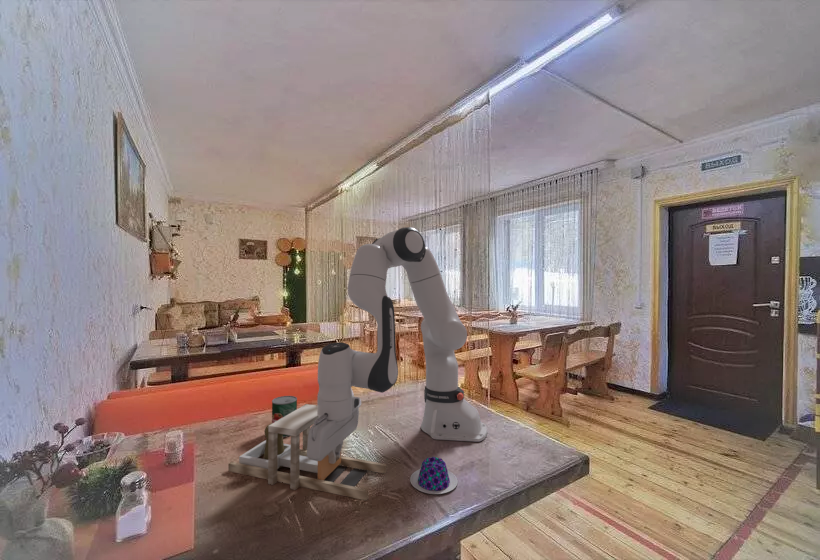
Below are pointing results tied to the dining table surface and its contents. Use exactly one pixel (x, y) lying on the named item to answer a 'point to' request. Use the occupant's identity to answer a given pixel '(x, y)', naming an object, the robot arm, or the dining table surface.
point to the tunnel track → (294, 426)
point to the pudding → (433, 477)
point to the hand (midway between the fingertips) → (334, 460)
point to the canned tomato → (283, 408)
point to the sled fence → (288, 461)
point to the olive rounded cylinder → (279, 444)
